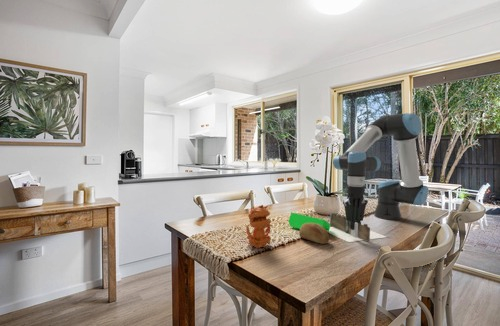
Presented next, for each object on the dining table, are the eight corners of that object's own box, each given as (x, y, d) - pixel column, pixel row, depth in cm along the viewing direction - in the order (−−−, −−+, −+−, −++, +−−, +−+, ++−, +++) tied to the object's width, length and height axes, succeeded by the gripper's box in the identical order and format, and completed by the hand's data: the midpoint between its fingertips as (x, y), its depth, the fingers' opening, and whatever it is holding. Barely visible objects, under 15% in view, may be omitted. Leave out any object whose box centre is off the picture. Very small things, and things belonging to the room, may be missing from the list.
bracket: (329, 240, 128) (333, 226, 130) (320, 234, 122) (324, 219, 124) (296, 230, 142) (300, 218, 144) (286, 224, 136) (291, 212, 138)
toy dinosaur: (253, 252, 101) (254, 207, 100) (241, 243, 111) (242, 202, 110) (277, 248, 106) (278, 205, 105) (263, 240, 116) (264, 200, 115)
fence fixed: (332, 225, 141) (332, 211, 140) (346, 232, 130) (347, 217, 129) (329, 225, 140) (329, 212, 140) (343, 232, 129) (344, 217, 129)
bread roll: (320, 248, 108) (321, 229, 107) (293, 238, 119) (293, 221, 119) (333, 243, 114) (334, 225, 113) (306, 234, 125) (306, 218, 125)
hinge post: (347, 232, 129) (348, 216, 129) (350, 233, 127) (351, 217, 127) (344, 232, 129) (344, 216, 128) (347, 233, 127) (347, 217, 126)
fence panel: (348, 232, 126) (349, 218, 126) (350, 232, 127) (351, 218, 126) (367, 241, 115) (368, 225, 115) (369, 240, 116) (370, 225, 115)
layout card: (352, 224, 144) (352, 223, 144) (387, 237, 123) (387, 236, 122) (317, 227, 136) (317, 227, 136) (348, 242, 115) (348, 241, 115)
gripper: (350, 187, 111) (348, 240, 112) (373, 186, 116) (371, 237, 117) (338, 184, 118) (337, 235, 119) (360, 184, 123) (358, 232, 124)
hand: (354, 236), depth 118 cm, fingers closed
